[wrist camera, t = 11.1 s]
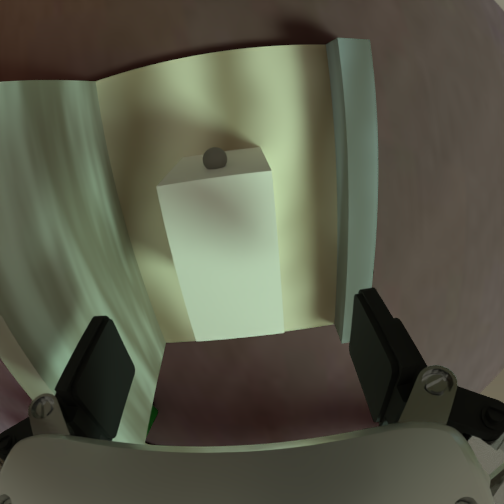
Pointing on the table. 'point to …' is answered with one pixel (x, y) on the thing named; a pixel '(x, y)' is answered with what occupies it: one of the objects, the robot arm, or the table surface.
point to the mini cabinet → (225, 242)
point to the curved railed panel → (148, 206)
